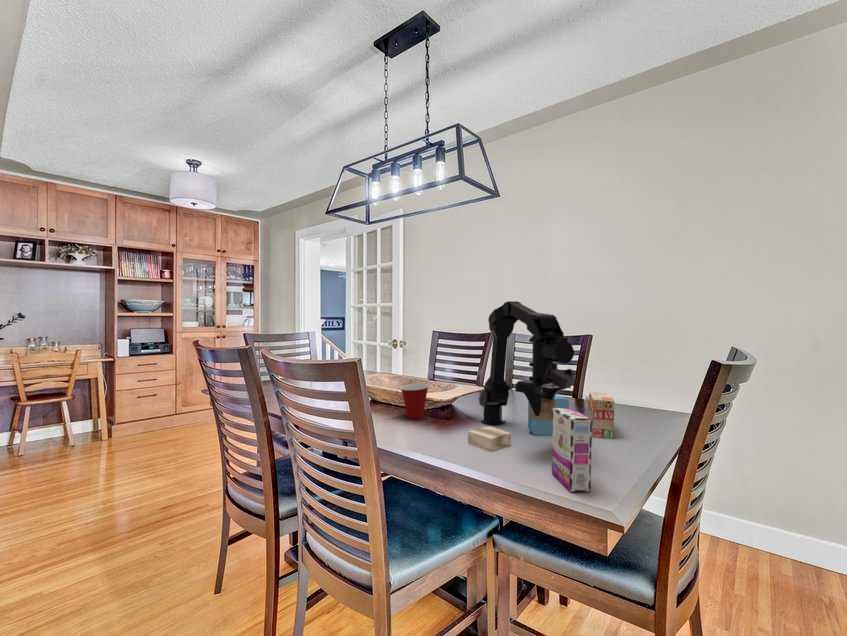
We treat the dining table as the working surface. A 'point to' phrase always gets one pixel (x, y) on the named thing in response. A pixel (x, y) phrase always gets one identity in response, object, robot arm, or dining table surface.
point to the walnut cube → (544, 410)
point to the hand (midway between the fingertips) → (542, 414)
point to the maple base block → (489, 438)
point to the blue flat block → (545, 426)
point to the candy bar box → (572, 449)
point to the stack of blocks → (601, 414)
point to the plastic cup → (414, 399)
